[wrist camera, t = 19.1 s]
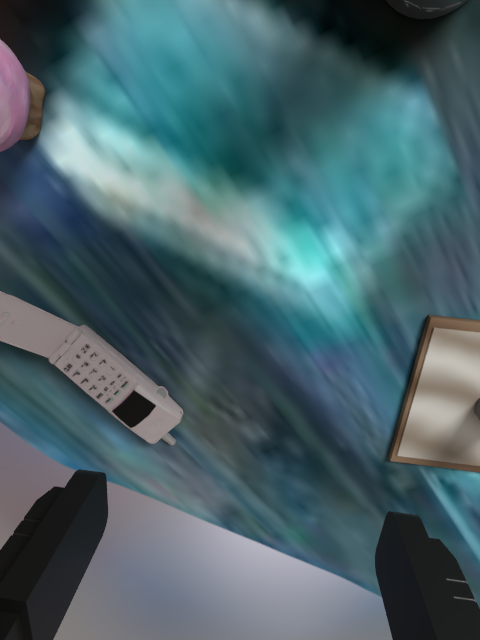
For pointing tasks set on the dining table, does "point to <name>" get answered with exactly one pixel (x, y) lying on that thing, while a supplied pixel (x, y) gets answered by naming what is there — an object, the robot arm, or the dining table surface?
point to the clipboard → (442, 398)
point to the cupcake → (18, 101)
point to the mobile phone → (92, 368)
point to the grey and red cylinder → (477, 409)
